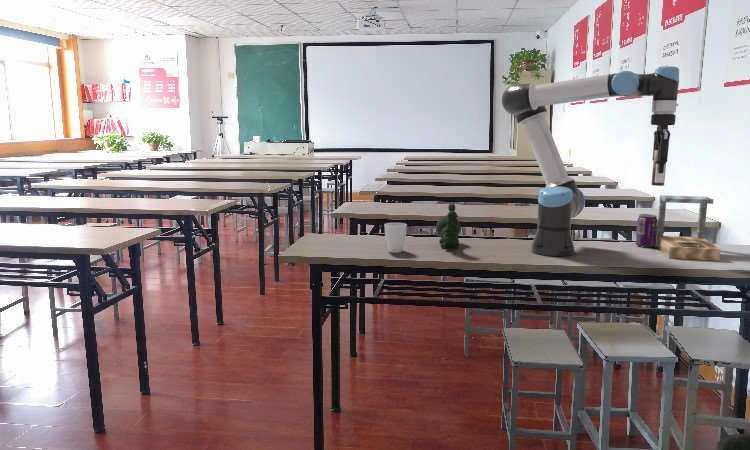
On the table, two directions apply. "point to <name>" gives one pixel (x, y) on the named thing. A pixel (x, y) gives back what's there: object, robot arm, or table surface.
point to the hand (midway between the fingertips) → (657, 181)
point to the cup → (395, 236)
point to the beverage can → (646, 230)
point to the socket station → (686, 245)
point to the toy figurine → (449, 229)
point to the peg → (655, 170)
